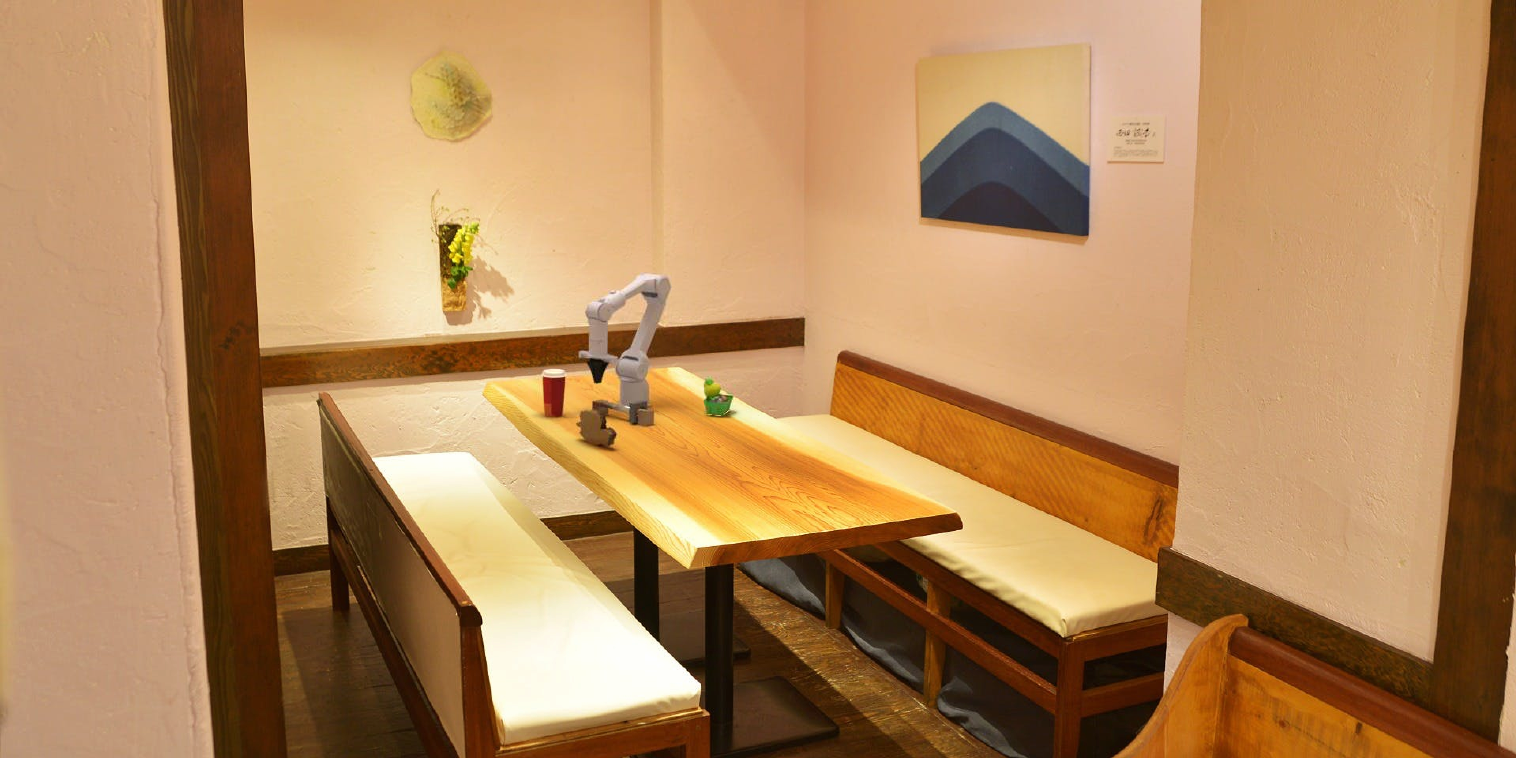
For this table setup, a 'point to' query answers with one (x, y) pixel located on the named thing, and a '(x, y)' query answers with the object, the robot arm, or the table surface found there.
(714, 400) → the fruit basket
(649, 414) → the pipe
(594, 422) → the wooden carving
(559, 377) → the paper cup
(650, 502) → the table surface
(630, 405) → the collar
